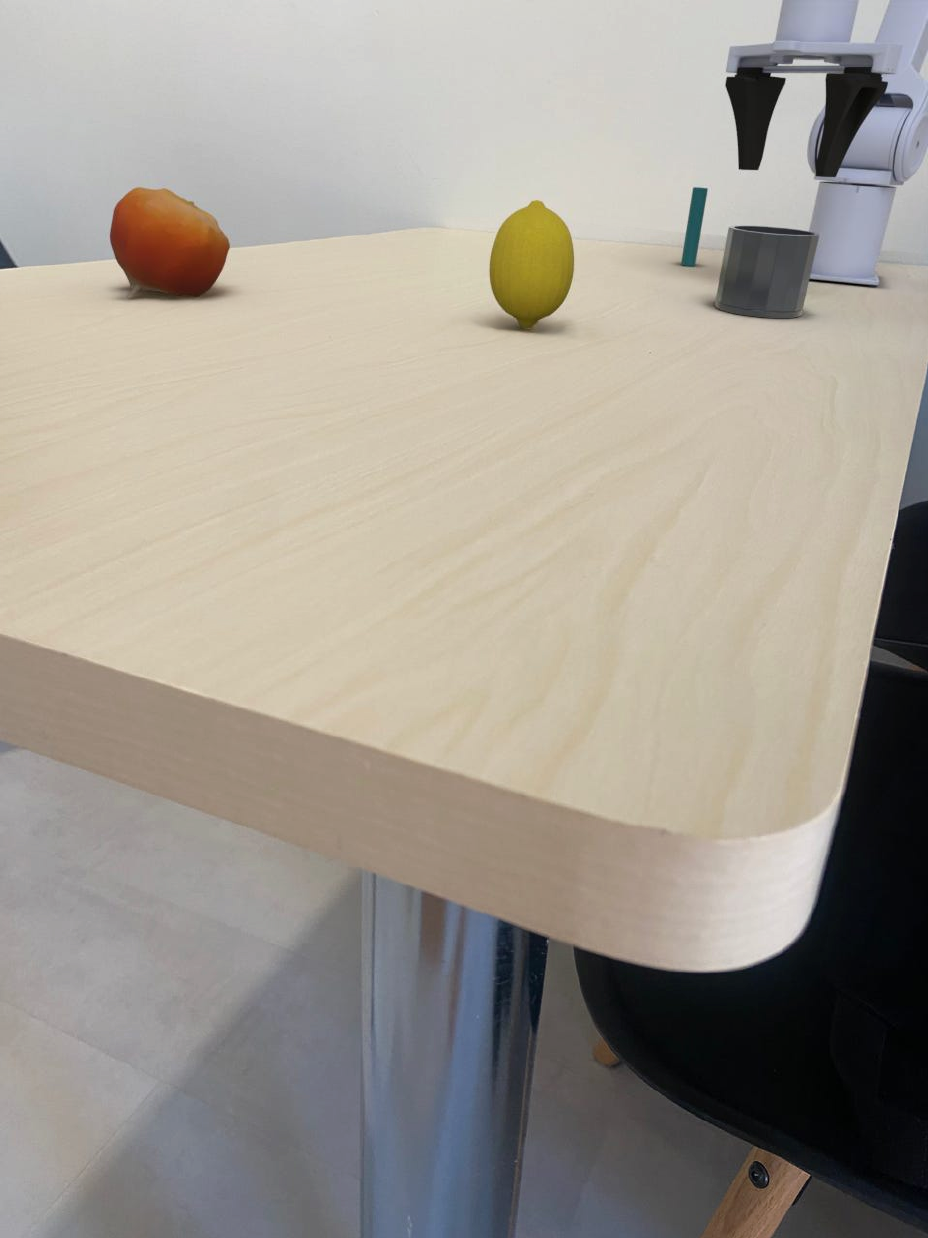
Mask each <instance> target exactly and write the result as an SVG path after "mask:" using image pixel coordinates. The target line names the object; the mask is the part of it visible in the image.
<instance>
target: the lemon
mask: <svg viewBox="0 0 928 1238" xmlns="http://www.w3.org/2000/svg"><path fill="white" fill-rule="evenodd" d="M574 271H575V250H574V243H573V239H572V234H571V232H570V230H569V227H568V226H567V224H566V222H565V221H564V220H563V219H562V217H561V216H559V215H558V213H556V212H555V211H553V210H552V209H549V208H548V207H547V206H546V205H545V203H544V202H543V201H542V200H538V199H536V200H531V201H530V202H529V204H528V205H527V206H524V207H522V208H520V209H518V210H516V211H514V212H513V213H511V214H510V215H509V216H508V217H507V218H506V219H505V220H504V221H503V222H502V224H501V225H500V227H499V228H498V231H497V232H496V235H495V238H494V241H493V245H492V248H491V253H490V259H489V283H490V288H491V292H492V294H493V297H494V299H495V301H496V302H497V304H498V305H499V307H500V308H501V309H502V310H503V311H504V312H505V313H506V314H508V315H509V316H511V317H512V318H514V319H515V320H516V322H517V324H518V325H519V326H520V327H521V329H524V330H530V329H533V328H534V326H535V325H536V324H537V323H538V322H540V320H543V319H545V318H547V317H549V316H551V315H552V314H554V313H555V312H556V311H558V309H559V308H561V306H562V305H563V304H564V302H565V300H566V299H567V296H568V295H569V292H570V289H571V287H572V282H573V278H574Z"/></svg>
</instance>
